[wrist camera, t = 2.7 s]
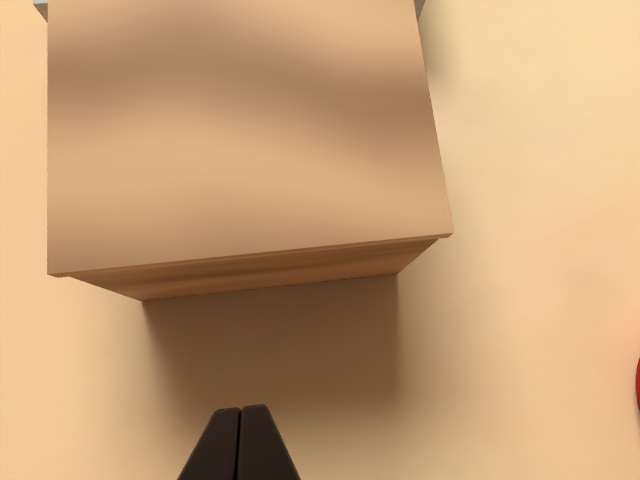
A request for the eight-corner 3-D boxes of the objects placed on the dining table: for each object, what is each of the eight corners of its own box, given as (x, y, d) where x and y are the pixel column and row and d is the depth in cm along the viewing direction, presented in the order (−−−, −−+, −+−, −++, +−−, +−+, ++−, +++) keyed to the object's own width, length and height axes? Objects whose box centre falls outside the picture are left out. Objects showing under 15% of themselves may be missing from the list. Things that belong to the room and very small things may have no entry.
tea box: (398, 276, 23) (453, 232, 15) (139, 304, 22) (47, 274, 14) (368, 66, 25) (401, -72, 17) (131, 86, 24) (47, -49, 16)
